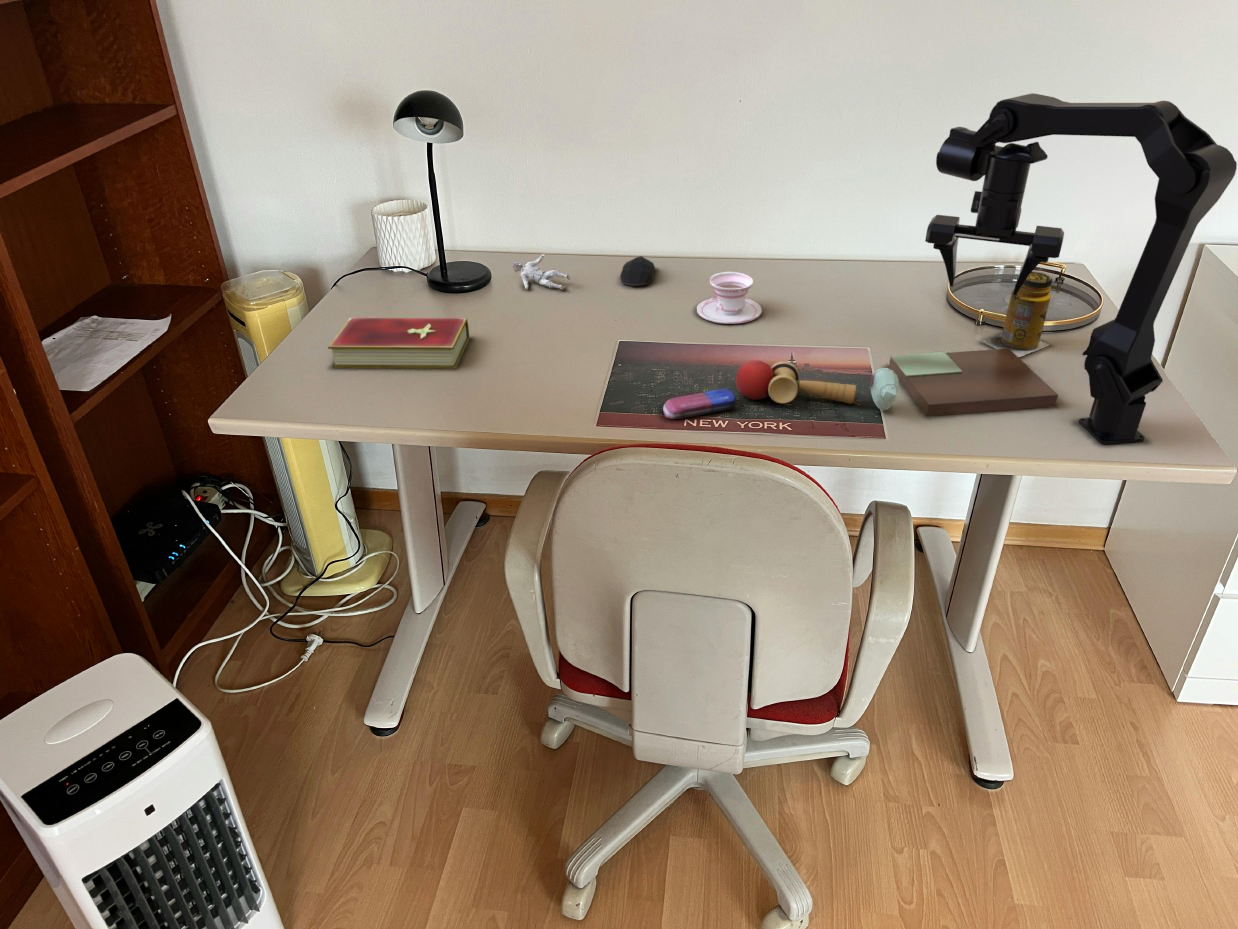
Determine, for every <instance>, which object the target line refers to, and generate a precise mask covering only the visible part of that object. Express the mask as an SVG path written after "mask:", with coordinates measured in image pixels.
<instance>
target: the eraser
mask: <svg viewBox="0 0 1238 929" xmlns="http://www.w3.org/2000/svg"><path fill="white" fill-rule="evenodd" d="M736 401H737V396H736V394H735V392H734V391H733V390H731V389H729V388H720V389H714V390H710V391H705V392H700V393H694V394H688V395H682V396H677V397H671V398H669V399H668V400H667V401H665V403H664V404H663V406H662V411H663V415H664V417H665V418H666V419H670V420H681V419H686V418H692V417H697V416H703V415H707V414H712V413H717V412H718V413H719V412H724V411H728V410H733V409H734V406H735V403H736Z"/></svg>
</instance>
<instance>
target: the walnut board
mask: <svg viewBox="0 0 1238 929" xmlns="http://www.w3.org/2000/svg"><path fill="white" fill-rule="evenodd" d="M888 369H890V370H893V372H894V373H895V374H896V375H897V377H898V381H899V383H900V384H901V385H902V387H903V388H904V389H905V391H906V392H907V393H908V394H909V396H910V397H911V398H912V399H913V401H914V402H915V403H916V405H917V406H918V407H919V408H920V409H921V412H923V413H924V414H925V416H926V417H935V416H948V415H962V414H963V415H964V414H975V413H988V412H1003V411H1014V410H1015V411H1016V410H1027V409H1040V408H1041V409H1042V408H1053V407H1056V406H1057V402H1058V398H1059V394H1058V393H1057V392H1056V391H1055V390H1054V389H1053V388H1052V387H1051V386H1050V385H1049V384H1048V383H1047V382H1045V381H1044V380H1043V379H1042V378H1041V377H1040V375H1038V374H1037V373H1036V372H1035V371H1034V370H1033V369H1031V368H1030V366H1028V365H1027V364H1026V363H1025V362H1024V361H1023V360H1022V359H1021V357H1017V356H1016V355H1015V354H1014V353H1013V352H1012V351H1011V350H1010V349H1009V348H1007V349H995V348H993V349H982V350H981V349H979V350H968V351H967V350H966V351H951V352H945V351H939V352H938V351H937V352H936V351H935V352H934V351H933V352H922V353H907V354H906V353H905V354H893V355H890V357H889V364H888Z"/></svg>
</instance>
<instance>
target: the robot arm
mask: <svg viewBox="0 0 1238 929" xmlns="http://www.w3.org/2000/svg"><path fill="white" fill-rule="evenodd" d="M1047 136H1084V137H1085V136H1088V137H1089V136H1090V137H1122V138H1123V137H1124V138H1126V137H1127V138H1135V139H1136V140H1137V142H1138V143H1139V144H1140V146H1141V149H1142V153H1143V154H1144V157H1145V160H1146V163H1147V165H1148V167H1149V168H1150V169H1151V171H1152V172H1153V173H1154V174H1155V176H1156V177H1157V178H1158V181H1157V185H1156V189H1155V194H1154V209H1155V220H1154V224H1153V226H1152V228H1151V231H1150V234H1149V236H1148V238H1147V241H1146V243H1145V246H1144V248H1143V251H1142V253H1141V254H1140V258H1139V260H1138V263H1137V265H1136V268H1135V270H1134V272H1133V274H1132V277H1131V280H1130V282H1129V285H1128V287H1127V290H1126V291H1125V294H1124V297H1123V299H1122V301H1121V304H1120V306H1119V309H1118V311H1117V314H1116V315H1115V318H1114V319H1111V320H1109V321H1107V322H1105V323H1104V324H1101V325H1099V326H1097V327H1095V328H1093V329H1092V332H1091V334H1090V338H1089V343H1088V345H1087V347H1086V349H1085V350H1084V351H1083V352H1082V353H1081V355H1082V356H1086V357H1085V359H1084V365H1083V366H1084V371H1086V373H1087V375H1088V381H1089V393H1090V397H1091V398H1093V402H1092V405H1091V409H1090V411H1089V417H1083V418H1079V419H1078V423H1079V424H1080V426H1082V427H1083V428H1084V429H1085V430H1086V431H1087V432H1088V433H1089V434H1090V435H1091V436H1092V437H1093V438H1094V439H1096V441H1098V443H1099V444H1102V445H1110V444H1121V443H1123V444H1124V443H1135V442H1143V441H1145V438H1146V436H1144V435H1143V433H1141V432H1140V431H1139V430H1138V429H1139V428H1140V424H1141V421H1142V417H1143V416H1144V415H1143V414H1144V411H1145V409H1146V406H1147V401H1145V400H1146V396H1147V395H1148V394H1150V393H1153V392H1155V391H1156V390H1157V389H1158V388H1159V387H1160V386H1161V384H1163V381H1164V380H1163V377H1162V375H1161V374H1160V372H1159V370H1158V369H1157V367H1156V365H1155V363H1154V362H1153V360H1152V356H1153V351H1154V347H1155V343H1156V337H1155V328H1154V326H1155V321H1156V319H1157V317H1158V314H1159V312H1160V310H1161V308H1162V305H1163V303H1164V301H1165V299H1166V297H1167V294H1168V292H1169V289H1170V288H1171V285H1172V283H1173V281H1174V278H1175V275H1176V273H1177V271H1178V269H1179V267H1180V265H1181V263H1182V260H1183V258H1184V256H1185V253H1186V252H1187V249H1188V247H1189V244H1190V242H1191V240H1192V238H1193V235H1194V233H1195V230H1196V228H1197V226H1198V225H1199V223H1200V222H1201V221H1202V219H1204V218H1205V216H1207V214H1208V213H1209V212H1210V211H1211V210H1212V208H1213V207H1214V206H1215V205H1216V204H1217V203H1218V201H1219V200H1220V199H1221V198H1222V196H1223V194H1224V192H1225V191H1226V190H1227V188H1228V187H1229V185H1230V184H1231V182H1232V181H1233V179H1234V178H1235V175H1236V173H1237V164H1238V162H1237V160H1236V159H1235V157H1234V155H1233V153H1232V152H1231V151H1230V150H1229V149H1228V148H1226V147H1224V146H1222V145H1221V144H1217V142H1216V141H1215V140H1214V139H1213V138H1212V136H1211V135H1210V134H1209V133H1208V132H1207V131H1205V130H1204V129H1203V128H1201V127H1200V126H1199V125H1197V124H1196V123H1195V122H1194V121H1192V120H1191V119H1189V118H1188V117H1186V115H1184V113H1183V112H1182V111H1181V110H1180V109H1179V107H1178V106H1177V105H1175V103H1173V102H1171V101H1169V100H1159V101H1155V102H1068V101H1064V100H1061V99H1059V98H1057V97H1054V96H1051V95H1050V96H1049V95H1044V94H1039V93H1033V92H1032V93H1028V94H1027V93H1026V94H1021V95H1019V96H1014V97H1010V98H1006V99H1001V100H999V101H997V102H996V104H995V105H994V106H993V107H992V109H991V111H990V113H989V117H988V119H987V120H986V121H985V122H984V123H983V124H982V125H981V126H980V128H978V129H977V130H971V129H969V128H968V127H964V126H956V127H952V128H950V130H949V135H948V136H947V138H946V139H945V140H944V141H943V143H942V144H941V146H940V148H939V150H938V152H937V153H936V158H935V166H936V168H937V171H938V172H939V173H940V174H943V175H947V176H951V177H955V178H959V179H963V180H967V181H972V182H977V181H979V180H980V179H981V180H982V178H983V177H984V179H983V184H982V188H981V189H982V190H981V191H979V190H974V194H973V197H972V201H971V206H970V213H972V214H976V219H975V225H968V224H960V219H961V218H960V216H955V215H943V214H936V215H934V217H932V218H931V220H930V221H929V224H928V225H927V228H926V234H925V240H924V242H926V243H928V244H933V249H934V250H937V251H939V253H940V255H941V258H942V260H943V263H944V266H945V269H946V270H945V271H946V274H947V279H948V283H949V287H950V288H951V287H952V288H953V287H954V284H955V279H956V271H957V258H958V256H957V255H958V246H959V239H968V240H975V241H984V242H992V243H999V244H1001V243H1002V244H1010V245H1017V246H1018V245H1019V246H1024V247H1025V246H1026V247H1028V249H1027V252H1026V255H1025V258H1024V260H1023V263H1022V266H1021V269H1020V270H1019V273H1018V276H1017V278H1018V279H1017V278H1016V281H1015V285H1014V287H1013V289H1014V293H1013V295H1016V294H1017V293H1018V291H1019V290H1020V288H1021V286H1022V285H1023V283H1024V282H1025V280H1026V279H1027V277H1028V276H1029V274H1030V273H1031V272H1034V270H1035V269H1036V267H1038V266H1039V264H1040V263H1048V262H1049V258H1051V259H1058V258H1060V254H1061V250H1062V247H1063V243H1064V242H1063V241H1064V238H1065V231H1064V230H1063V229H1062V227H1053V226H1044V225H1036V227H1035V229H1034V230H1035V231H1034V232H1030V231H1022V230H1021V231H1020V230H1017V228H1018V227H1019V224H1020V219H1021V215H1022V205H1023V201H1024V196H1025V191H1026V187H1027V182H1028V177H1029V172H1030V169H1031V165H1032V164H1036V163H1040V162H1042V161H1046V160H1047V159H1048V157H1049V156H1048V154H1047V152H1045V150H1044V149H1043V148H1042V147H1041V145H1040V143H1039V141H1035V142H1031V143H1028V144H1026V145H1023V144H1020V143H1019V144H1018V143H1017V142H1021V141H1027V140H1032V139H1037V138H1042V137H1047ZM1015 142H1016V143H1015ZM998 143H1001V144H1005V145H1004V146H1000V145H996V144H998Z"/></svg>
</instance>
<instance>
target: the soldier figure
mask: <svg viewBox="0 0 1238 929" xmlns="http://www.w3.org/2000/svg"><path fill="white" fill-rule="evenodd" d="M545 256H547V255H546V254H541V255H539V257H538V258H537V259H535V260H532V261H528V262H526V264H524V265H523V262H522V261H521V262H520V261H514V262H513V265H512V268H513V271H514V273H516V274H518V272H520V277H521V279H522V282H523V286H524V288H525V289H526V290H529V280H530V281H531V282H535V283H537V284H538V285H542V286H544V287H548V288H549V289H552V288H553V289H560V290H562V291H564V290H565V286H564V285H562V284H557V283H554V282H553V281H551V280H550V279H552V278H554V277H557V278H564V279H566V280H567V281H569V280H570V279H571V277H570V274H569V273H566V274H565V273H562V272H560V271H558V270H557V269H552V270H548V271H544V270H542V269H540V267H539V266H537V265H540V263H541V262H542V261H543V259H544V257H545ZM528 279H529V280H528Z"/></svg>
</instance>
